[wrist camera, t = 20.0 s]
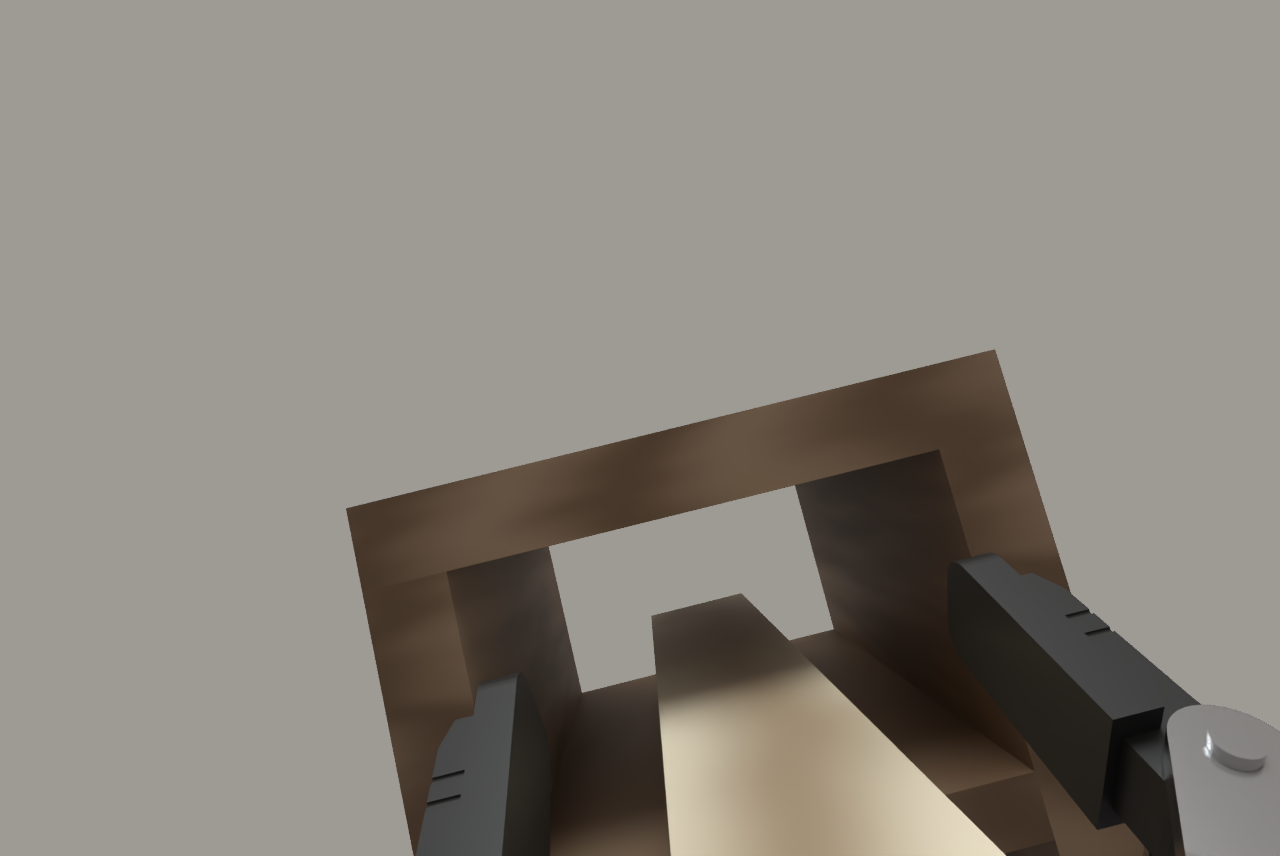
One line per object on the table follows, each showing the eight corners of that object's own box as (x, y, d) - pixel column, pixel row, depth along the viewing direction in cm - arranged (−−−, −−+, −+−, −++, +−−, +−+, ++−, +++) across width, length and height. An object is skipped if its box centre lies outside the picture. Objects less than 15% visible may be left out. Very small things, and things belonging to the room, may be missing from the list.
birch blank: (745, 1240, 7) (678, 952, 7) (668, 686, 27) (651, 616, 27) (1095, 1144, 7) (1014, 863, 7) (759, 663, 27) (741, 593, 27)
